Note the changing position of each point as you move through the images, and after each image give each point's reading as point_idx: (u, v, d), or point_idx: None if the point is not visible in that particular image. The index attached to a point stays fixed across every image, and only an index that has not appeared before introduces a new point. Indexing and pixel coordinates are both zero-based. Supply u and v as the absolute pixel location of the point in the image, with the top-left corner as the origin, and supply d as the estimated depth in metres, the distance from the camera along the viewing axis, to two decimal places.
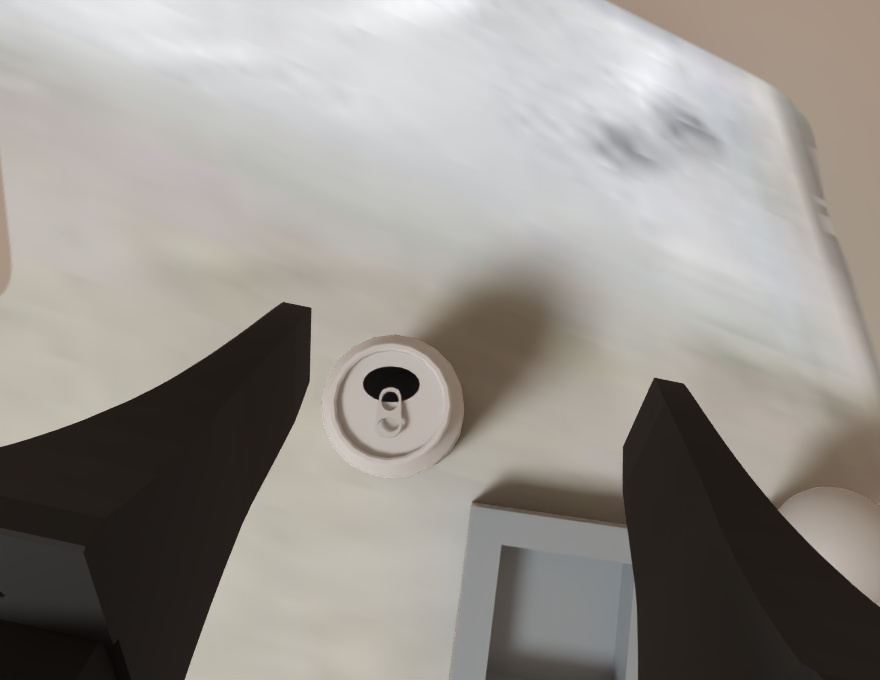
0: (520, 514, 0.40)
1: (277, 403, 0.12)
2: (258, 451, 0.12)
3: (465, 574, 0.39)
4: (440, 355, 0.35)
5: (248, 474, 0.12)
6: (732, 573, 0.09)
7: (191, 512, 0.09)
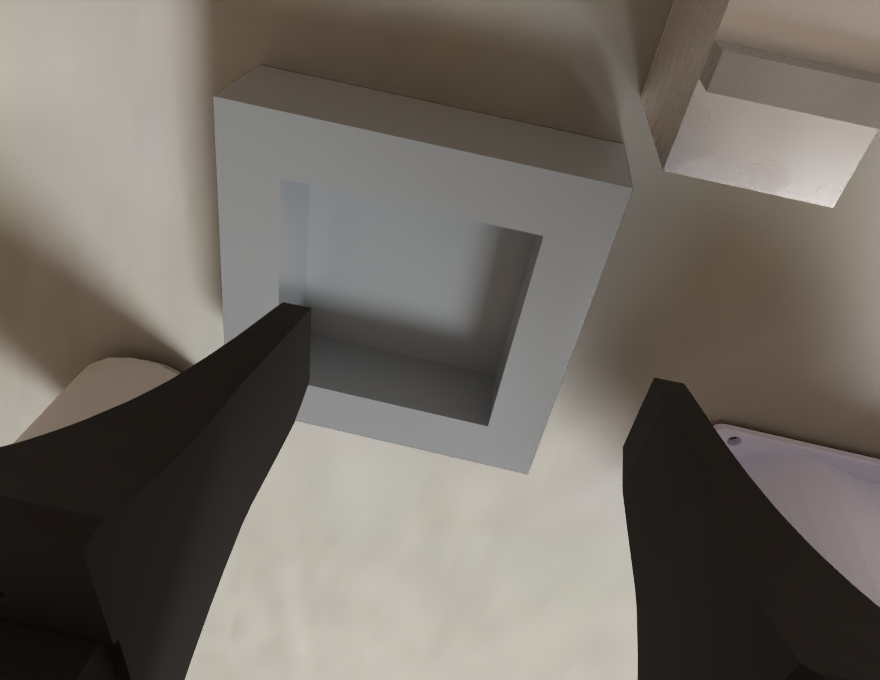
0: None
1: (277, 403, 0.12)
2: (258, 451, 0.12)
3: (326, 426, 0.26)
4: None
5: (248, 474, 0.12)
6: (732, 572, 0.09)
7: (191, 512, 0.09)
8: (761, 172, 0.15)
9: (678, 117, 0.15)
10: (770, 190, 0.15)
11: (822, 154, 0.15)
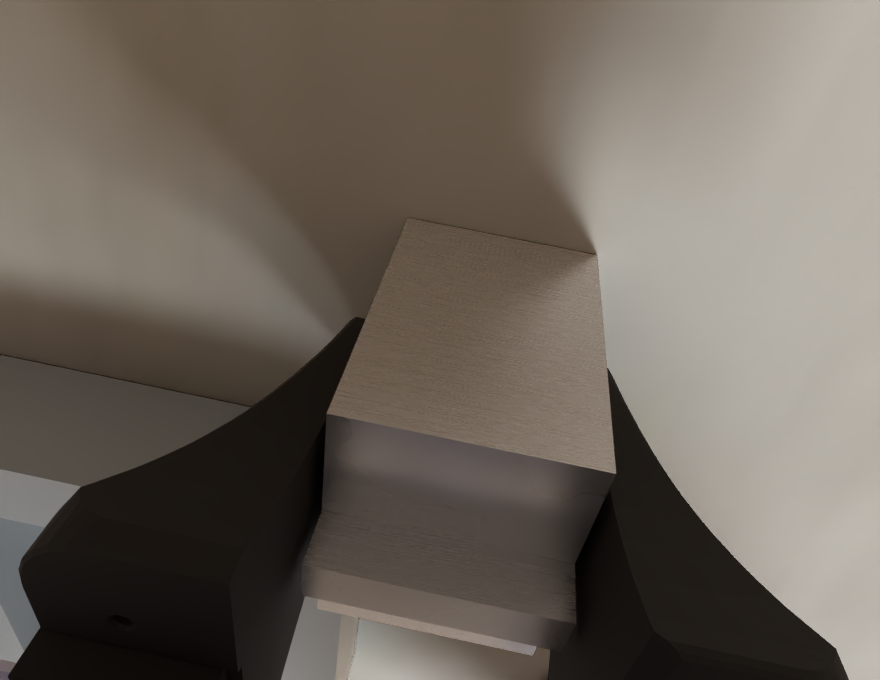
0: None
1: None
2: None
3: None
4: None
5: None
6: (617, 548, 0.09)
7: (294, 534, 0.09)
8: None
9: None
10: (451, 635, 0.12)
11: None
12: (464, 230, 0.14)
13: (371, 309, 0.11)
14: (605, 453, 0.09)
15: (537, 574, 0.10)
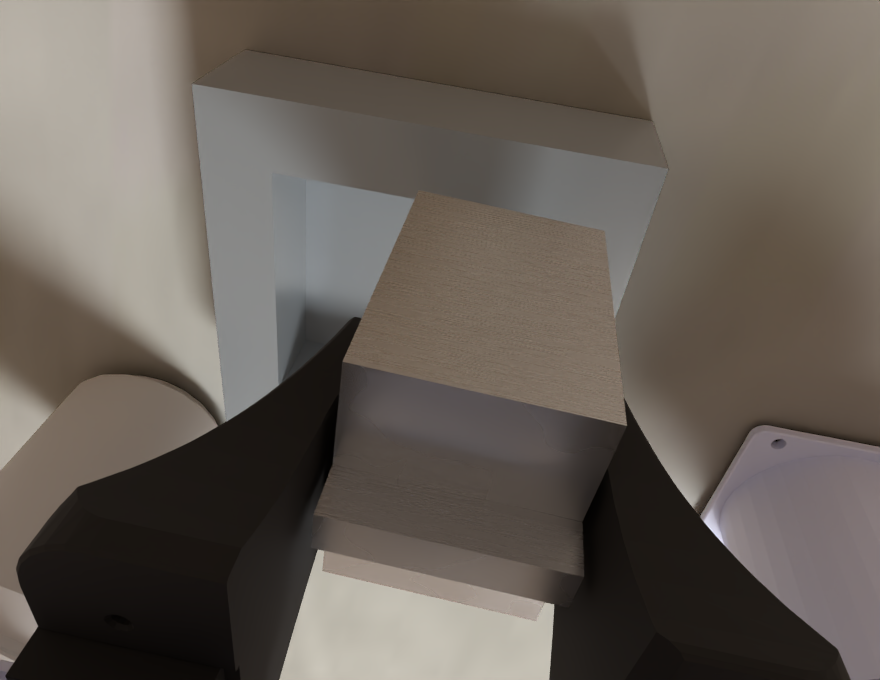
0: (222, 361, 0.22)
1: None
2: None
3: None
4: None
5: None
6: (619, 549, 0.09)
7: (292, 533, 0.09)
8: (439, 583, 0.12)
9: None
10: (456, 599, 0.12)
11: None
12: (474, 202, 0.14)
13: (384, 270, 0.11)
14: (616, 407, 0.09)
15: (545, 530, 0.10)
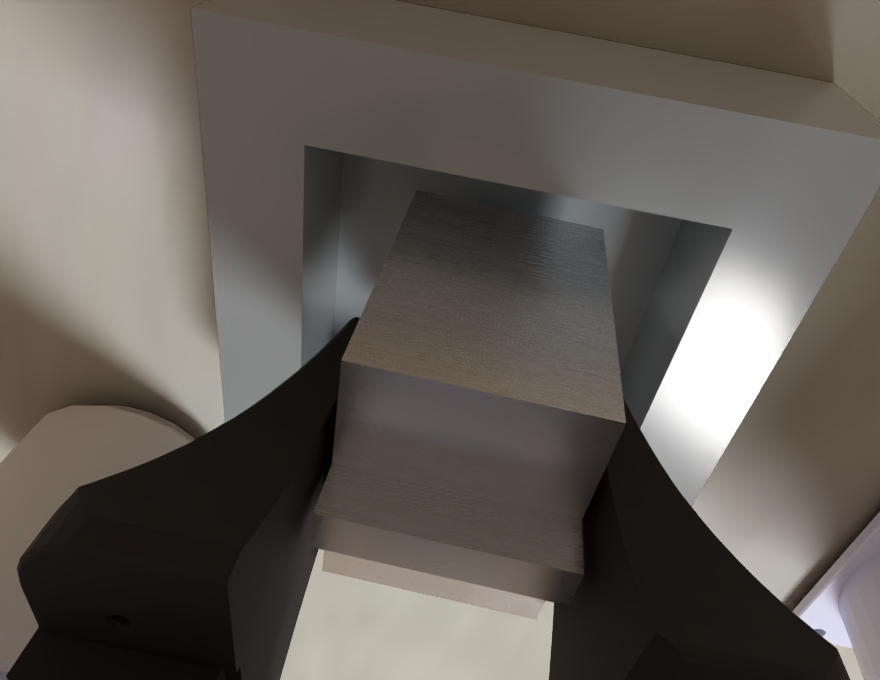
0: (226, 400, 0.17)
1: None
2: None
3: None
4: None
5: None
6: (618, 549, 0.09)
7: (292, 534, 0.09)
8: (439, 582, 0.12)
9: None
10: (456, 598, 0.12)
11: None
12: (472, 202, 0.14)
13: (383, 269, 0.11)
14: (615, 404, 0.09)
15: (545, 528, 0.10)
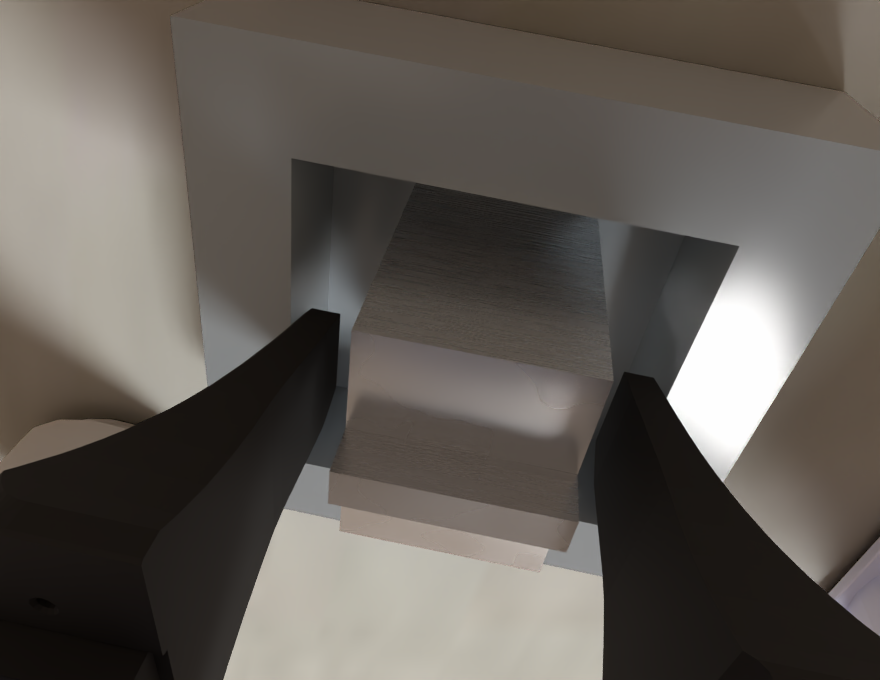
0: None
1: (308, 409, 0.12)
2: (290, 458, 0.12)
3: None
4: None
5: (280, 481, 0.12)
6: (687, 563, 0.09)
7: (232, 521, 0.09)
8: (448, 538, 0.13)
9: None
10: (464, 554, 0.13)
11: None
12: None
13: (388, 248, 0.12)
14: (604, 365, 0.10)
15: (543, 482, 0.11)
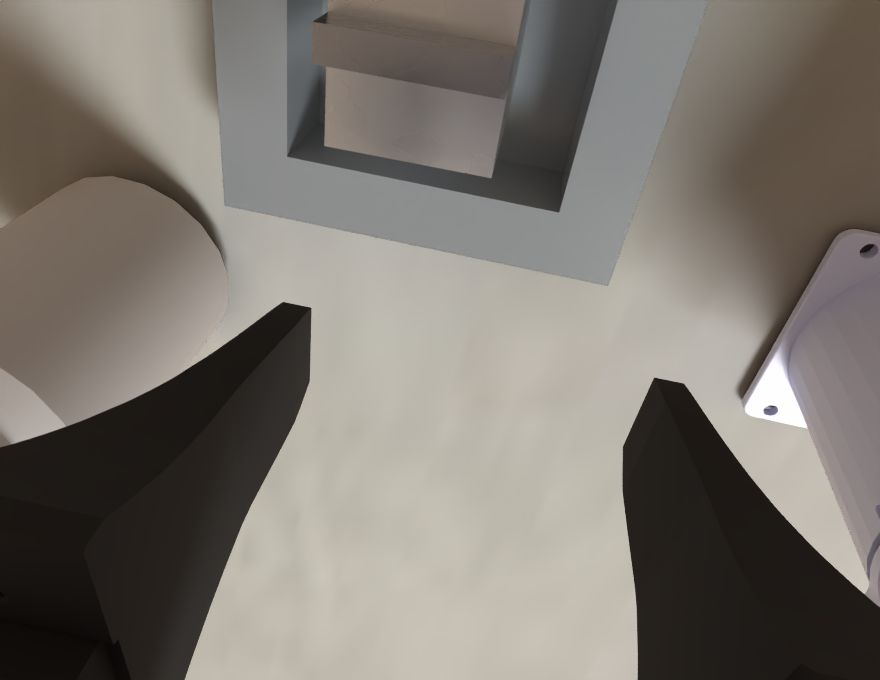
0: (221, 112, 0.19)
1: (277, 403, 0.12)
2: (258, 451, 0.12)
3: (349, 229, 0.20)
4: None
5: (248, 474, 0.12)
6: (733, 573, 0.09)
7: (191, 512, 0.09)
8: (414, 144, 0.15)
9: None
10: (428, 162, 0.15)
11: (463, 124, 0.15)
12: None
13: None
14: None
15: (487, 44, 0.13)
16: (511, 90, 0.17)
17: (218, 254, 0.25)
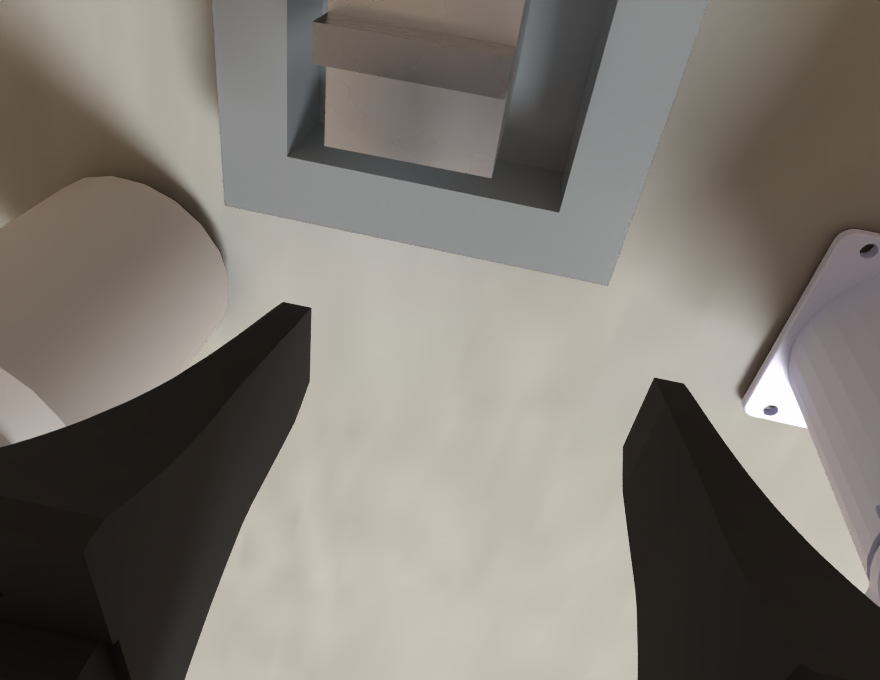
0: (221, 112, 0.19)
1: (277, 403, 0.12)
2: (258, 451, 0.12)
3: (349, 229, 0.20)
4: None
5: (248, 474, 0.12)
6: (733, 573, 0.09)
7: (191, 512, 0.09)
8: (414, 144, 0.15)
9: None
10: (428, 162, 0.15)
11: (464, 124, 0.15)
12: None
13: None
14: None
15: (487, 44, 0.13)
16: (511, 90, 0.17)
17: (218, 254, 0.25)
